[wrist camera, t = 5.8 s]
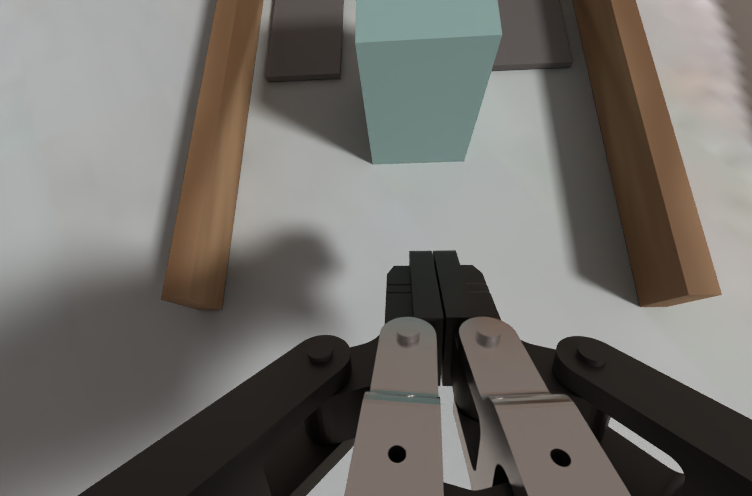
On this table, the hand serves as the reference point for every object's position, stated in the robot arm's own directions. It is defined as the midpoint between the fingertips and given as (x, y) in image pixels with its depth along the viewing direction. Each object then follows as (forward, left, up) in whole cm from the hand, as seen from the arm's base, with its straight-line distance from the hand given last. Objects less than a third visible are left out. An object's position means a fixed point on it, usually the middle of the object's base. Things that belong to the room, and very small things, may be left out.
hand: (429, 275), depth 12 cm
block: (0, +11, -6) cm, 12 cm away
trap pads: (0, +18, -6) cm, 19 cm away
